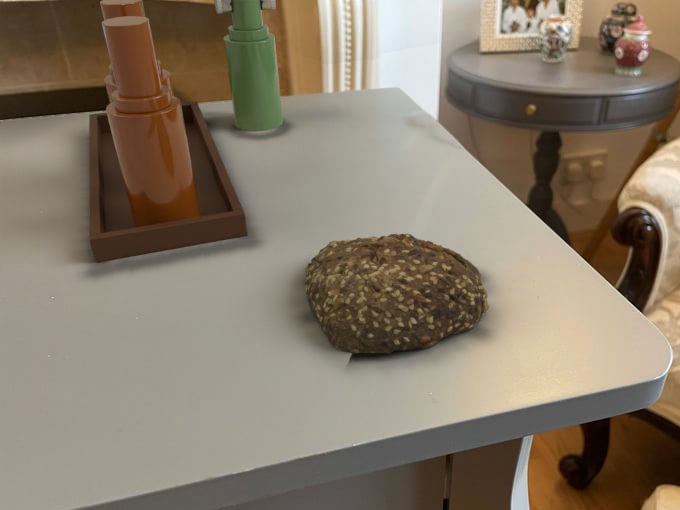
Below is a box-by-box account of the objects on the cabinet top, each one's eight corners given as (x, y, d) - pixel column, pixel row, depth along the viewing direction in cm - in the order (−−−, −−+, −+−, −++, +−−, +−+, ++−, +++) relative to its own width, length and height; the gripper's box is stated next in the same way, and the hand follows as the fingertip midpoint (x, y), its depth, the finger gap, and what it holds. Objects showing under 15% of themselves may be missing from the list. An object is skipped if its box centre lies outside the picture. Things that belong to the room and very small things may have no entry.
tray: (248, 241, 53) (244, 213, 52) (98, 269, 50) (89, 239, 48) (200, 123, 76) (196, 101, 75) (95, 137, 73) (89, 114, 71)
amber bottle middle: (118, 193, 60) (70, 5, 51) (150, 169, 64) (111, -7, 55) (171, 199, 58) (132, 8, 50) (200, 174, 63) (168, -5, 54)
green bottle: (227, 133, 74) (205, -22, 65) (247, 117, 78) (229, -30, 69) (272, 137, 72) (255, -20, 63) (290, 121, 77) (277, -29, 68)
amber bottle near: (122, 233, 53) (67, 27, 44) (157, 203, 58) (113, 11, 49) (181, 240, 52) (138, 31, 43) (212, 210, 57) (179, 14, 48)
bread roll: (316, 369, 40) (310, 303, 37) (300, 264, 50) (294, 206, 48) (514, 343, 42) (523, 279, 39) (460, 248, 52) (464, 191, 49)
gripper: (325, -150, 66) (332, -2, 74) (111, -149, 60) (143, 12, 68) (344, -150, 61) (349, 8, 69) (113, -148, 55) (147, 25, 63)
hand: (245, 10), depth 68 cm, fingers closed on green bottle, 3 cm apart
